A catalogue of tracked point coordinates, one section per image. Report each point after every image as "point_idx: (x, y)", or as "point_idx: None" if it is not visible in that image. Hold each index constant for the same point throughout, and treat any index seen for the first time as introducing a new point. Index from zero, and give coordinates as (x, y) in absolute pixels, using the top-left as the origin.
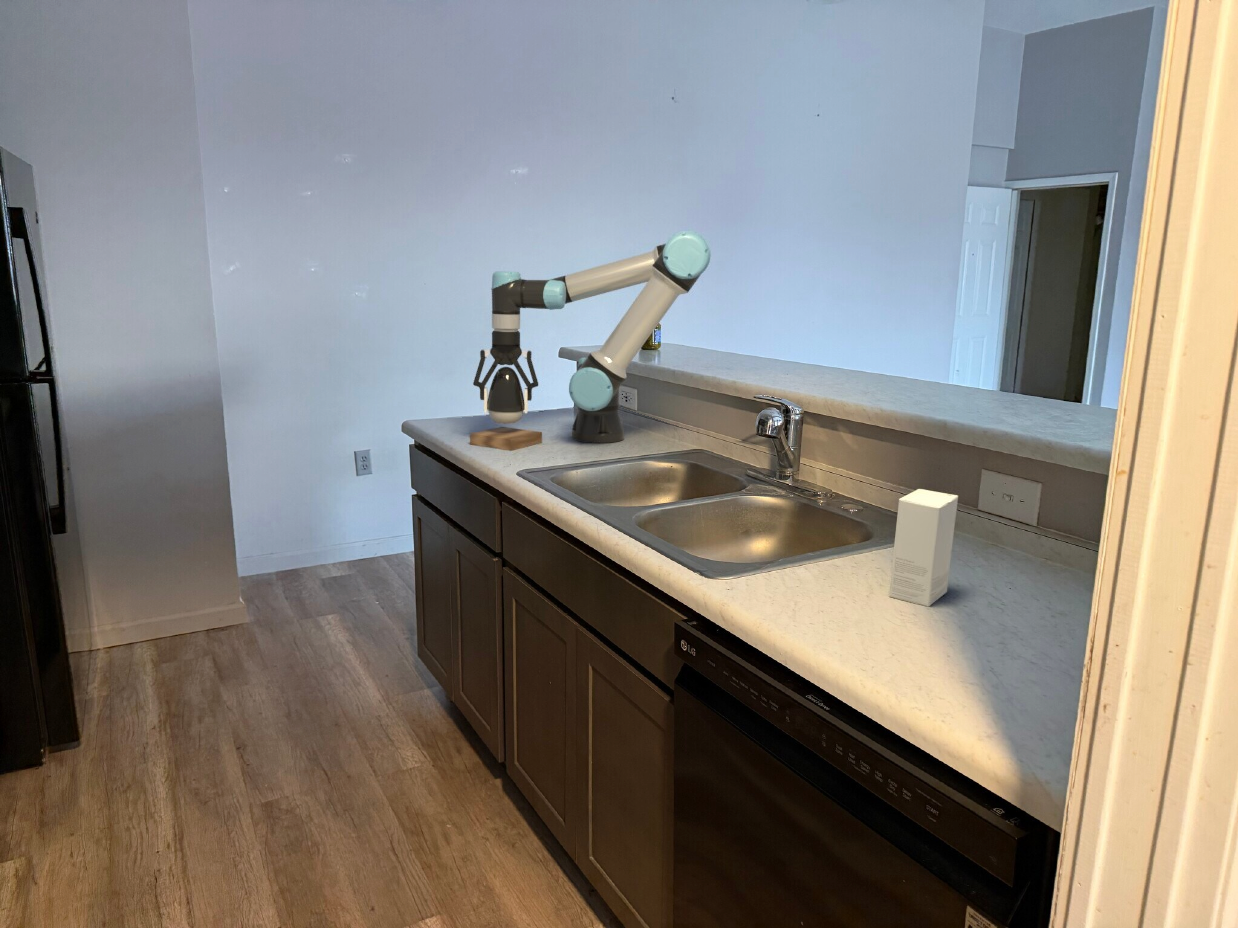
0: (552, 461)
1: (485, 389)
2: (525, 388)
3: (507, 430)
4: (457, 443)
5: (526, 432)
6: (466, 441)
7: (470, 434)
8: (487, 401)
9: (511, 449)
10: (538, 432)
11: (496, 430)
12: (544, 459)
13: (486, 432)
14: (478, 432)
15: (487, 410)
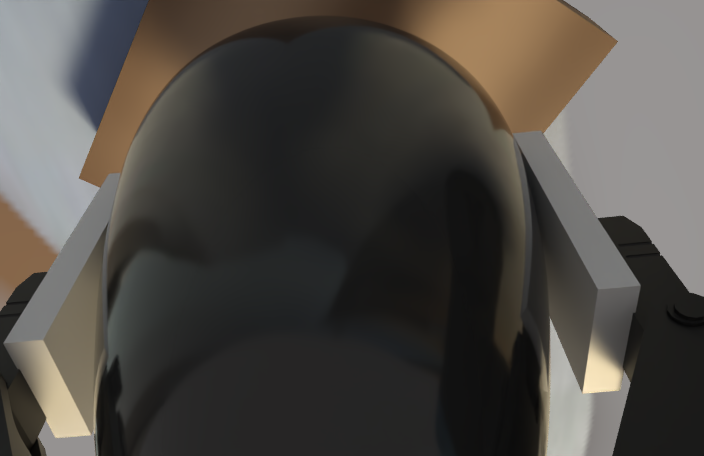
0: (581, 437)
1: (74, 430)
2: (605, 319)
3: (326, 4)
4: (4, 112)
5: (488, 78)
6: (30, 32)
7: (84, 176)
8: (106, 227)
9: None
10: (585, 66)
11: (233, 17)
12: (550, 412)
13: None
14: (120, 125)
15: None
